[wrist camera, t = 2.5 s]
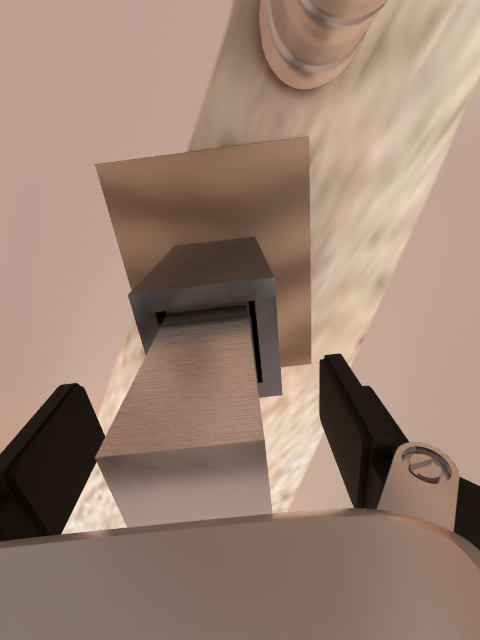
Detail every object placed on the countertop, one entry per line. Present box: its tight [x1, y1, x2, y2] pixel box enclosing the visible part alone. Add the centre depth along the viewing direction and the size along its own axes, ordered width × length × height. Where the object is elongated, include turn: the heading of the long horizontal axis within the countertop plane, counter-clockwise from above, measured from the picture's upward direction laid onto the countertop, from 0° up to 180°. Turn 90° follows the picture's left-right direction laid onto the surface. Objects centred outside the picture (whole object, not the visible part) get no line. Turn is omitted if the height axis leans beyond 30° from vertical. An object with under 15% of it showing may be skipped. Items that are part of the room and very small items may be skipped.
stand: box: [95, 137, 311, 398], centre depth 21 cm, size 20×16×14 cm
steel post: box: [95, 301, 272, 528], centre depth 16 cm, size 4×4×20 cm
